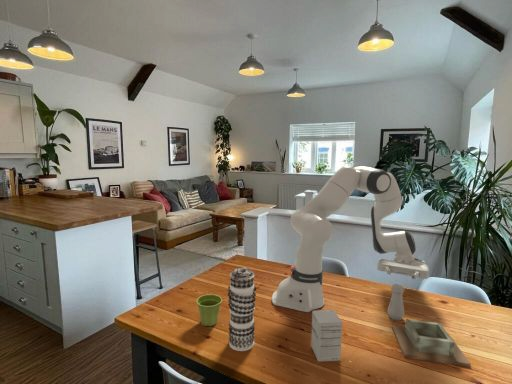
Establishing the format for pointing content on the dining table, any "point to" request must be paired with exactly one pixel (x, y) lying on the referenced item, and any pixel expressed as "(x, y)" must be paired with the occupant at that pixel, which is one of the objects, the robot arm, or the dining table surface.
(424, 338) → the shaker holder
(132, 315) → the dining table surface
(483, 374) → the dining table surface
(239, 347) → the decorative candle
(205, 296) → the plant pot
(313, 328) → the supplement box
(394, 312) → the salt shaker
